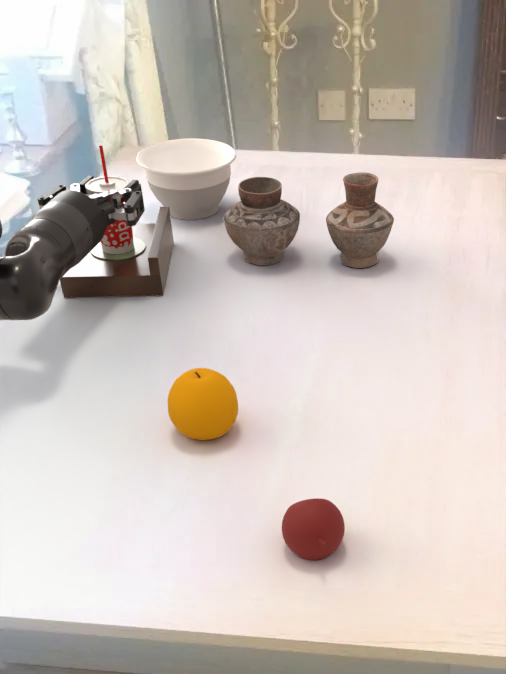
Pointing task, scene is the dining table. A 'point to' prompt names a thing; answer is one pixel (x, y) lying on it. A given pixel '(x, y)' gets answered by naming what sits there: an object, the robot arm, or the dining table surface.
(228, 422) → the apple
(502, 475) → the dining table surface
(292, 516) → the fruit
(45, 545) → the dining table surface
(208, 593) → the dining table surface
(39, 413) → the dining table surface
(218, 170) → the bowl
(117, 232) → the beverage cup
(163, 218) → the shelf
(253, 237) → the pottery
